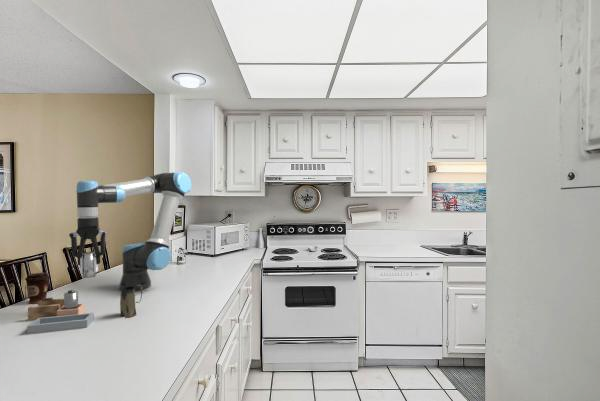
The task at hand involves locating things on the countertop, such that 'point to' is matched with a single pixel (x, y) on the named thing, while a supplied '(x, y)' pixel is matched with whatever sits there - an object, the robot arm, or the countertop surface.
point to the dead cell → (71, 300)
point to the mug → (128, 302)
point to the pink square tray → (72, 310)
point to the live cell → (88, 265)
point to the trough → (60, 323)
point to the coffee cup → (37, 286)
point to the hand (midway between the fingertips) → (89, 272)
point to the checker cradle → (45, 308)
